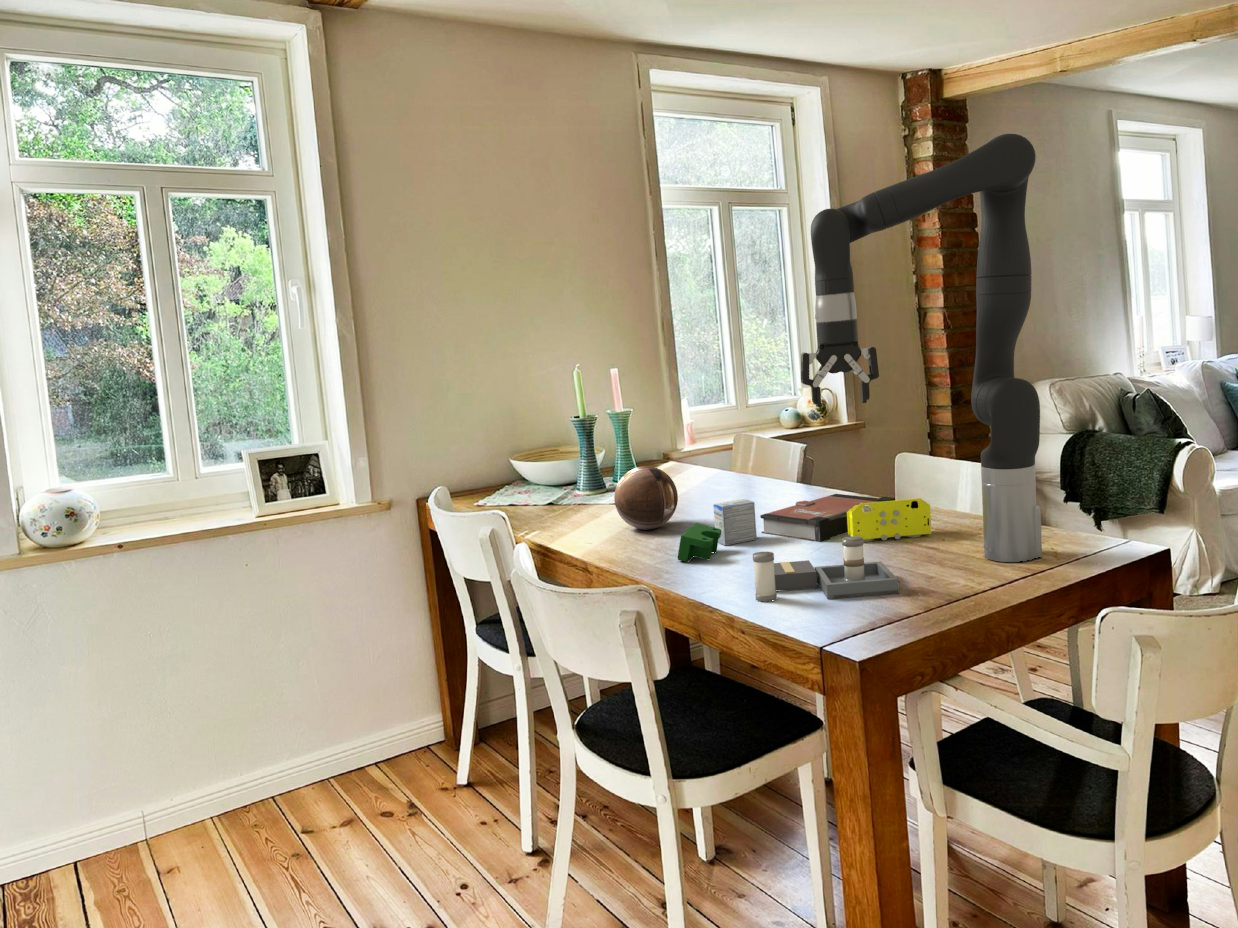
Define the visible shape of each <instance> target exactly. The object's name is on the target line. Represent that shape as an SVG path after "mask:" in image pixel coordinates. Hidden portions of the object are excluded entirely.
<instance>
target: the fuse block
mask: <svg viewBox="0 0 1238 928" xmlns="http://www.w3.org/2000/svg"><path fill="white" fill-rule="evenodd" d="M814 567H815V566H813V565H812V563H811V561H810V560H808V559H807V560H797V561H780V562H774V573H775V587H776V590H788V591H795V590H796V591H798V590H808V589H809V590H811V589H818V584H817V574H816V570H815V568H814Z"/></svg>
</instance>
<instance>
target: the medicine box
mask: <svg viewBox="0 0 1238 928" xmlns="http://www.w3.org/2000/svg"><path fill="white" fill-rule="evenodd" d="M755 505H756V504H755V501H752V500H750V499H747V498H740V499H734V500H730V501H722V502H718V503H714V504H713V517H714V527H715V528H719V529H721V530H722V531H721V537H720V538H719V540H718V544H719V543H720V545H722V546H725V547H727V546H730V545H735V544H740V543H746V542H750V541H756V540H758V537H757V526H756V525H757V522H756V508H755V507H756V506H755Z"/></svg>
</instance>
